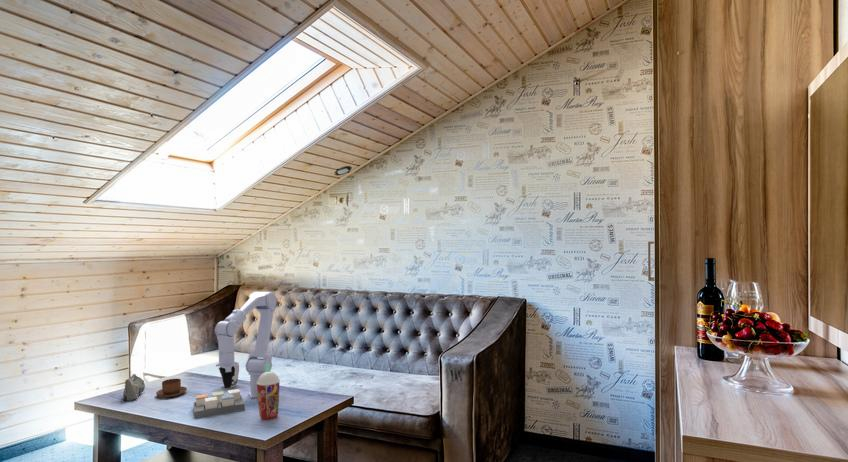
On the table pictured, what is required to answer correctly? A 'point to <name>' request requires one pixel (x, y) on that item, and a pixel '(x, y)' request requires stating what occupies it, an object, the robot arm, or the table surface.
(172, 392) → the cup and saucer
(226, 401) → the blue key
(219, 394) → the sage key
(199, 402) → the terracotta key
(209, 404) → the cream key
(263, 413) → the smoothie
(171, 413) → the table surface
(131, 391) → the mineral rock
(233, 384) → the cup
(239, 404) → the keypad board
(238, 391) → the cream key
